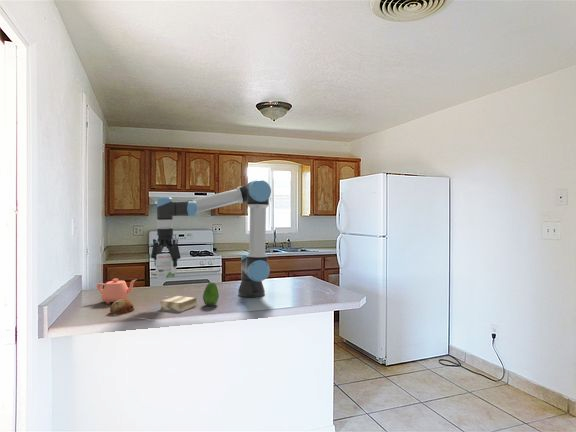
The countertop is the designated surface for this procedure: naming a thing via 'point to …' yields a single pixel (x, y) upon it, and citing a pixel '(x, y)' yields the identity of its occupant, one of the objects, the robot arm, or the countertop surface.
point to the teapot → (115, 290)
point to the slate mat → (163, 309)
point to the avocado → (210, 294)
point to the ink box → (164, 266)
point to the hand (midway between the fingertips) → (165, 272)
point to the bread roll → (121, 306)
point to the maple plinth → (178, 303)
